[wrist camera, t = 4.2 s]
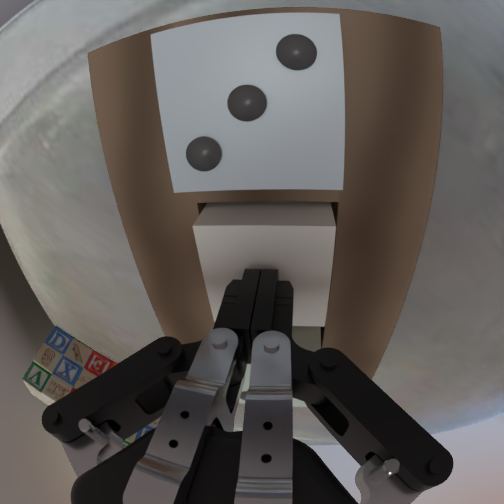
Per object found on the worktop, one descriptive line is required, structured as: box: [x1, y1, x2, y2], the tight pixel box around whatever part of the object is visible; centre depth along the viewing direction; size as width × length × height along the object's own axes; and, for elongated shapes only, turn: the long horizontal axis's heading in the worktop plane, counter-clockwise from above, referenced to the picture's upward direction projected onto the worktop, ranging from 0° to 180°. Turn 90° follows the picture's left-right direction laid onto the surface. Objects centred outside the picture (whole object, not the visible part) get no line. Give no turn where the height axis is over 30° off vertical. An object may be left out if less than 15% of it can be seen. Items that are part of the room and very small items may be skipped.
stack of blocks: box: [23, 327, 161, 448], centre depth 28 cm, size 21×6×12 cm, turn 62°
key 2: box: [239, 326, 321, 407], centre depth 18 cm, size 6×6×3 cm
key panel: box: [88, 7, 443, 380], centre depth 16 cm, size 16×24×3 cm, turn 5°
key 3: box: [151, 13, 345, 193], centre depth 9 cm, size 6×6×3 cm
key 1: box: [193, 201, 336, 327], centre depth 15 cm, size 6×6×3 cm
